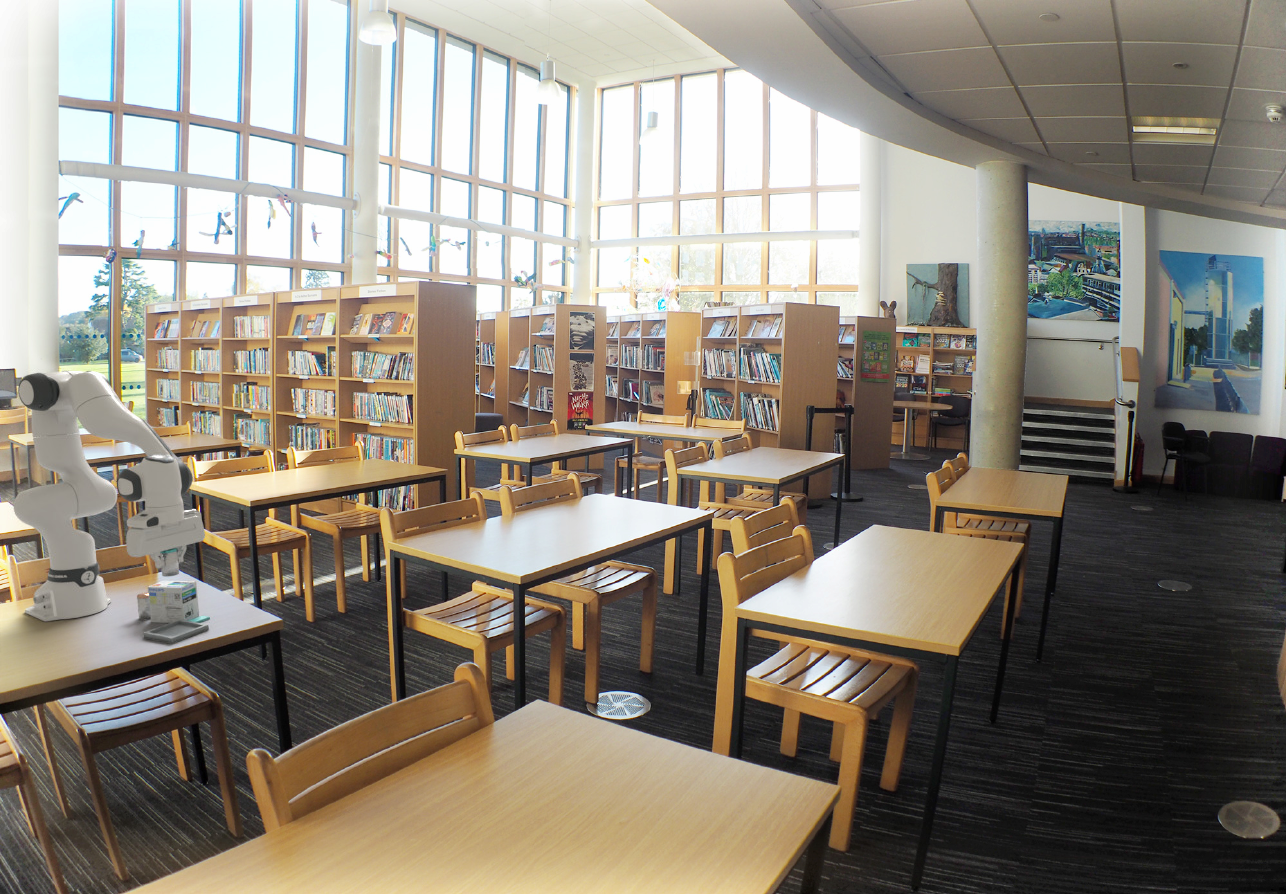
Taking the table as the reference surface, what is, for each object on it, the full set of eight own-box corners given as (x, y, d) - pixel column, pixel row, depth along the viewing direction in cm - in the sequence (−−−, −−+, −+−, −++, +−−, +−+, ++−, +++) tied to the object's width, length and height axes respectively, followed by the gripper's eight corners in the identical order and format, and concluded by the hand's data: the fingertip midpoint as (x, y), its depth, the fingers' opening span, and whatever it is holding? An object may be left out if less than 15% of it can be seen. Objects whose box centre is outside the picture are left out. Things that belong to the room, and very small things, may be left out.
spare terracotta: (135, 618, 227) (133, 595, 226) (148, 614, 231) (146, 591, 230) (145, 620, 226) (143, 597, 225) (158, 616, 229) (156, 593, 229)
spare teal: (168, 577, 210) (166, 551, 209) (158, 575, 212) (156, 550, 211) (182, 573, 214) (180, 548, 213) (172, 571, 215) (170, 546, 214)
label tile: (186, 623, 224) (186, 621, 224) (202, 617, 228) (202, 615, 228) (194, 624, 223) (194, 622, 223) (209, 618, 227) (209, 616, 227)
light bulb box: (200, 616, 230) (197, 580, 228) (184, 624, 223) (181, 587, 222) (166, 614, 231) (163, 579, 229) (149, 623, 224) (146, 586, 223)
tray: (143, 638, 212) (143, 632, 212) (180, 624, 223) (180, 619, 222) (172, 643, 208) (171, 638, 208) (208, 629, 218) (208, 624, 218)
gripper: (192, 506, 221) (196, 554, 223) (120, 521, 203) (125, 573, 204) (208, 508, 219) (212, 556, 221) (136, 523, 200) (141, 576, 202)
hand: (169, 565), depth 212 cm, fingers closed on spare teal, 4 cm apart
